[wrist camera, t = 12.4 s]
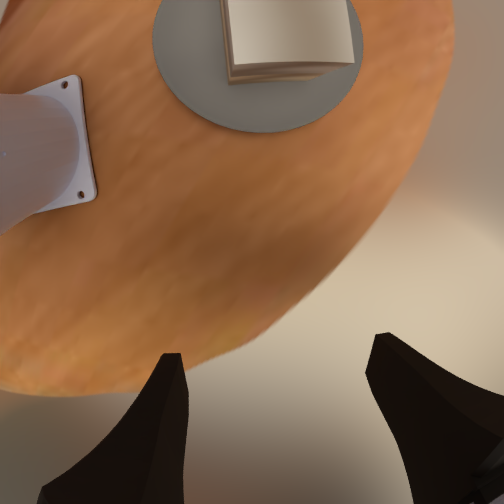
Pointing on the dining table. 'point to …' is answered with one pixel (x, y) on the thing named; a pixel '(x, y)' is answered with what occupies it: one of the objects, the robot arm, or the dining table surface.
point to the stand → (242, 95)
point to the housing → (284, 39)
